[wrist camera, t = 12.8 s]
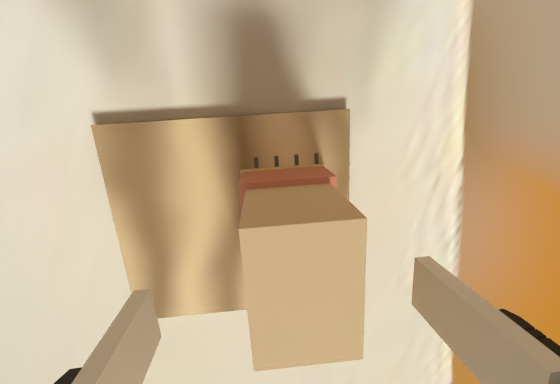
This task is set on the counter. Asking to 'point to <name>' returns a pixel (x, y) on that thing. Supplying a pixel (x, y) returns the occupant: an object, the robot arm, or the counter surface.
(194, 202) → the board
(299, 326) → the block
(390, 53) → the counter surface
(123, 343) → the robot arm
